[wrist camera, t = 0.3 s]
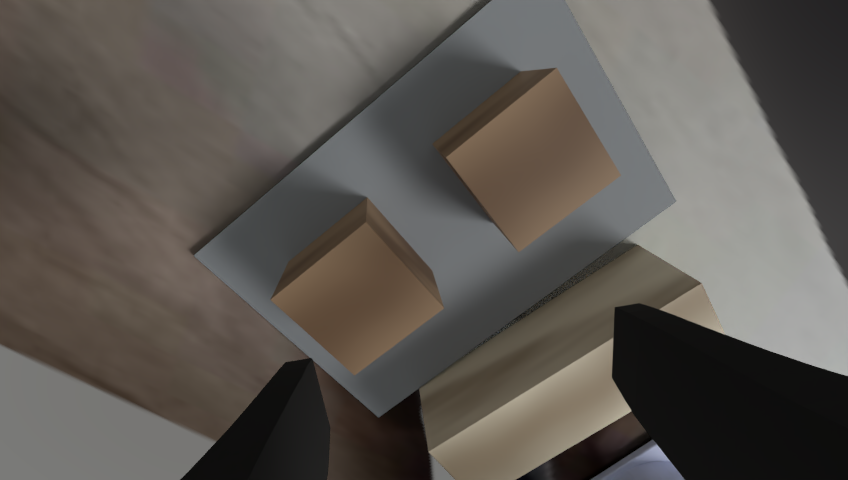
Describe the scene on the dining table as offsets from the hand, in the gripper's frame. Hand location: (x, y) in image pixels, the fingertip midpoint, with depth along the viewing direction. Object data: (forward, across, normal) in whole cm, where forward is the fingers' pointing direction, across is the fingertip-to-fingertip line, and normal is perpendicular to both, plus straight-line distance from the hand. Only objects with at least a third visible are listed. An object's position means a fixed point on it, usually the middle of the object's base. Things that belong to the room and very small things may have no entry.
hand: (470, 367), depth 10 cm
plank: (+10, -5, +7) cm, 13 cm away
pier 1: (+9, +3, +1) cm, 10 cm away
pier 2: (+9, -4, -3) cm, 11 cm away
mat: (+10, -1, 0) cm, 10 cm away
